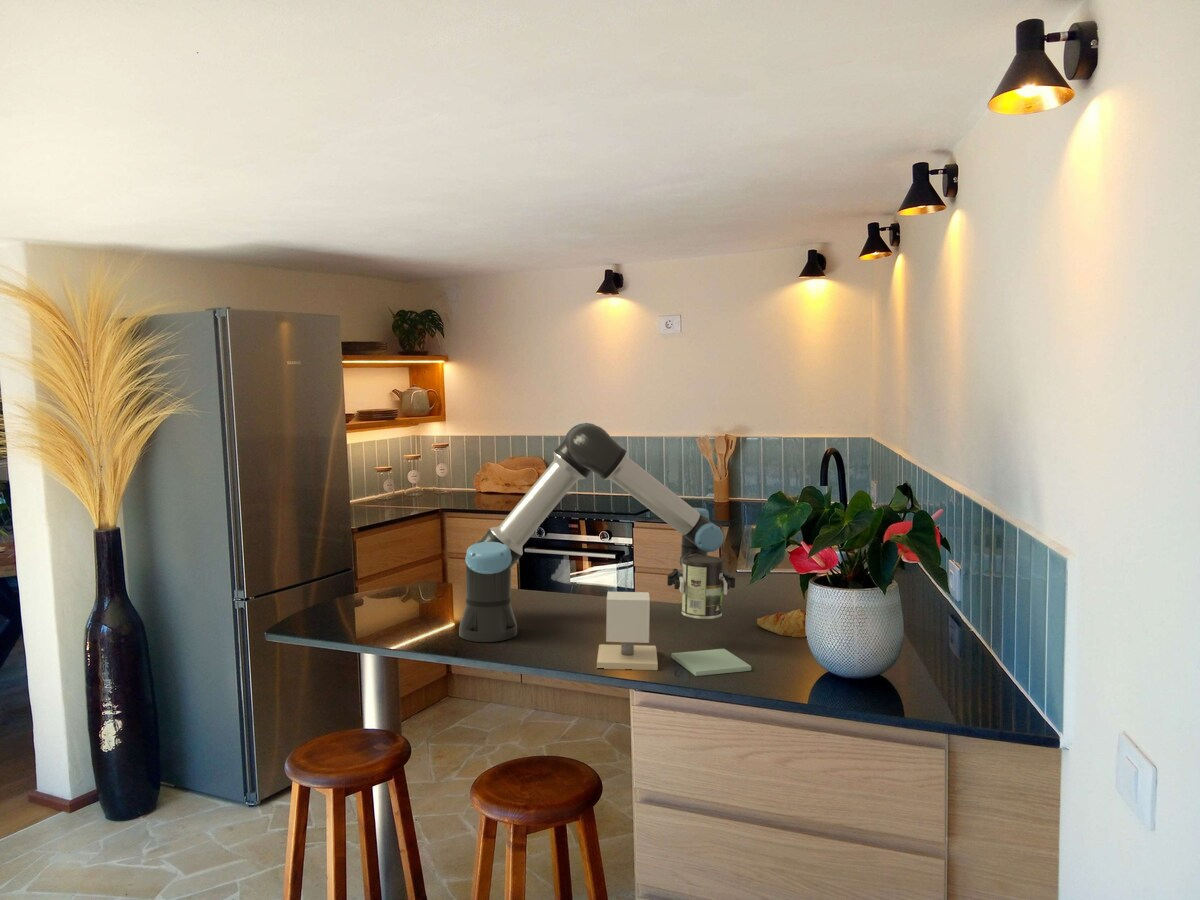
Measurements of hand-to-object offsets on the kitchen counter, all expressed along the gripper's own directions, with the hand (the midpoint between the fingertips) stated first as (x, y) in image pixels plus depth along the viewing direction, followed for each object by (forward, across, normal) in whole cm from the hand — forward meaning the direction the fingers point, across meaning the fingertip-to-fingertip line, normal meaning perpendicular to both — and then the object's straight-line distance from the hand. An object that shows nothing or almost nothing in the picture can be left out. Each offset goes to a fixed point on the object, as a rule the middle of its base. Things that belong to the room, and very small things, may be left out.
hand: (703, 588), depth 205 cm
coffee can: (-4, 0, -8) cm, 9 cm away
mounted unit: (+9, +18, -16) cm, 26 cm away
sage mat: (+10, -1, -16) cm, 19 cm away
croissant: (-18, -26, -16) cm, 36 cm away
